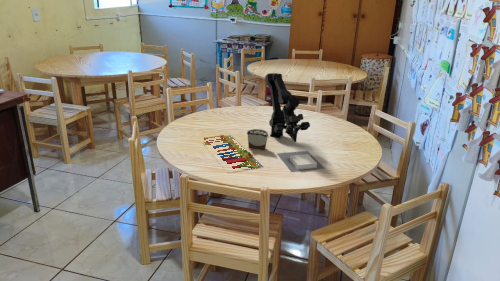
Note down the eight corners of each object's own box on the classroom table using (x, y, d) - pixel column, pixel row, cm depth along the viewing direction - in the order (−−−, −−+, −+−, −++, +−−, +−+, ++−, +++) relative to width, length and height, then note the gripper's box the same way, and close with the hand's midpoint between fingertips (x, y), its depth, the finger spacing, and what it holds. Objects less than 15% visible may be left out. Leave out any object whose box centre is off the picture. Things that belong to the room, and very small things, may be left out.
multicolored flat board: (263, 163, 178) (227, 170, 171) (263, 168, 179) (227, 174, 172) (230, 132, 216) (199, 136, 209) (230, 136, 217) (199, 140, 210)
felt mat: (276, 154, 194) (276, 153, 194) (307, 151, 199) (307, 150, 199) (291, 172, 175) (291, 172, 174) (325, 169, 179) (325, 168, 179)
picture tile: (290, 155, 186) (298, 165, 176) (308, 154, 188) (317, 163, 178) (289, 160, 187) (297, 169, 177) (307, 158, 189) (316, 167, 179)
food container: (270, 147, 202) (271, 130, 198) (267, 151, 197) (268, 134, 193) (249, 143, 206) (250, 127, 202) (246, 147, 200) (246, 131, 197)
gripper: (277, 109, 186) (283, 137, 181) (310, 107, 191) (317, 134, 186) (271, 118, 196) (277, 145, 191) (303, 116, 201) (309, 142, 196)
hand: (295, 141), depth 191 cm, fingers closed
